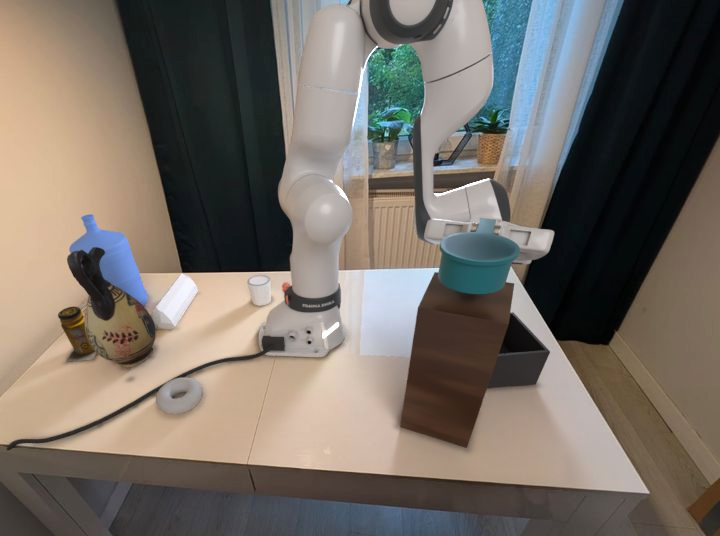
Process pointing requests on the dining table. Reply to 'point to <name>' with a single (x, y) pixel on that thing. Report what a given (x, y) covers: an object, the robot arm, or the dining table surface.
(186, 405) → the donut
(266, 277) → the shot glass
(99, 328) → the ceramic jug
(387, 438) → the dining table surface
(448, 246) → the cup
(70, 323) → the condiment
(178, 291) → the white hexagonal prism
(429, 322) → the walnut wood pedestal
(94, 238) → the water jug
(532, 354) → the dark grey open box
